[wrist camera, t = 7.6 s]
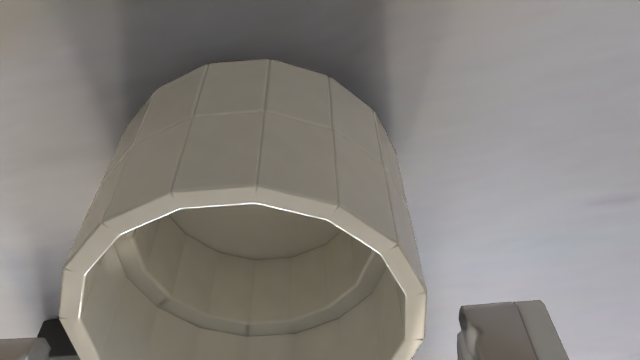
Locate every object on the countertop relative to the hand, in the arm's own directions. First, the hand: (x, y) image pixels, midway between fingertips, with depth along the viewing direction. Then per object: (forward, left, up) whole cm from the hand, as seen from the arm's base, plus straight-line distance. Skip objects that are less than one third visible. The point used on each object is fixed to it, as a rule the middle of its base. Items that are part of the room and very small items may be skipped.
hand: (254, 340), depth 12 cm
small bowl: (-1, 0, -5) cm, 5 cm away
